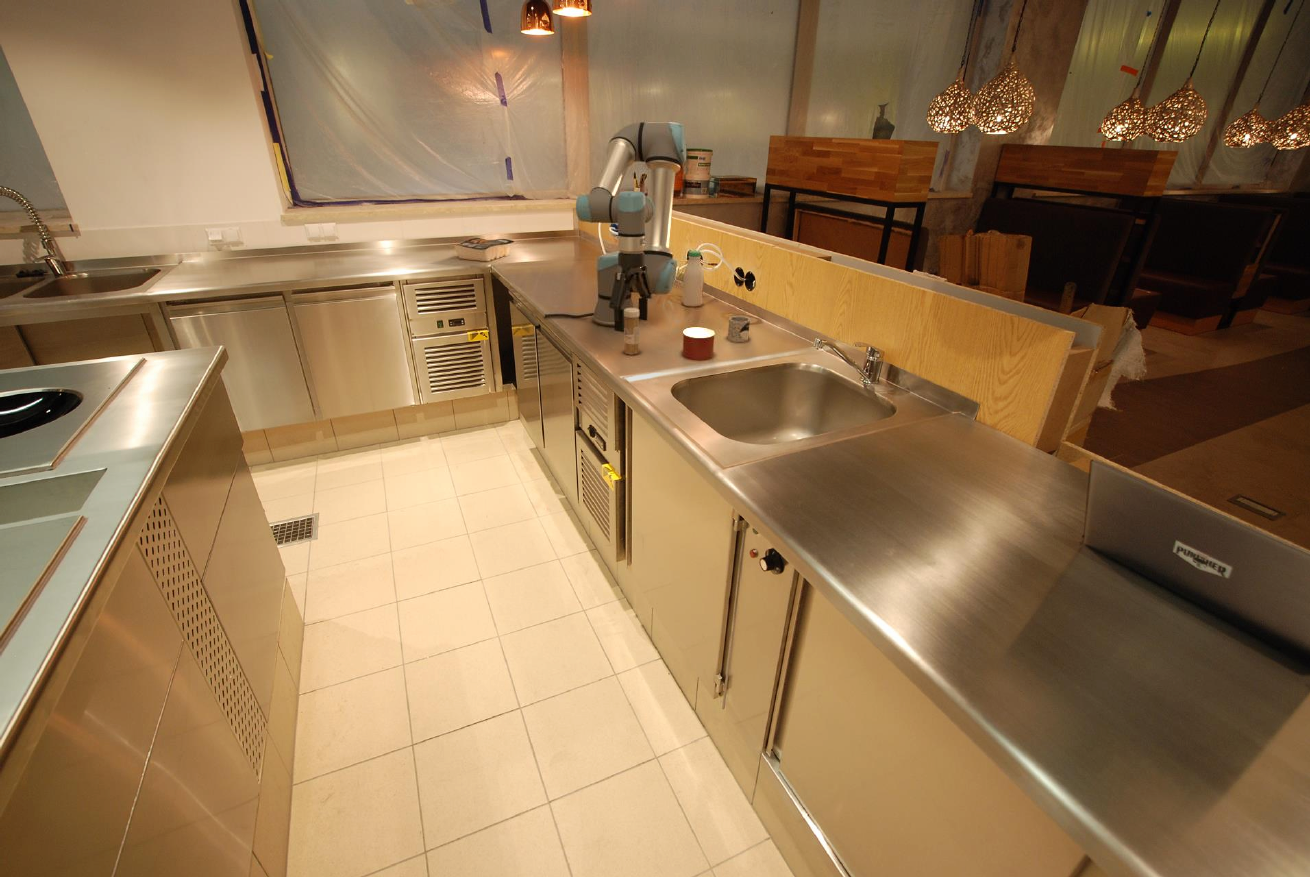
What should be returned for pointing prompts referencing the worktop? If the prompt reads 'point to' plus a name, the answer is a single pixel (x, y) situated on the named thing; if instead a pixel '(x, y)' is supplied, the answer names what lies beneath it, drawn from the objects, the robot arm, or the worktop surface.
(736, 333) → the mug
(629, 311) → the sprinkles bottle
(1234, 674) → the worktop surface
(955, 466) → the worktop surface
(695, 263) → the milk bottle
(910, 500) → the worktop surface
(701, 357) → the tin
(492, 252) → the food packaging
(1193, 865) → the worktop surface
